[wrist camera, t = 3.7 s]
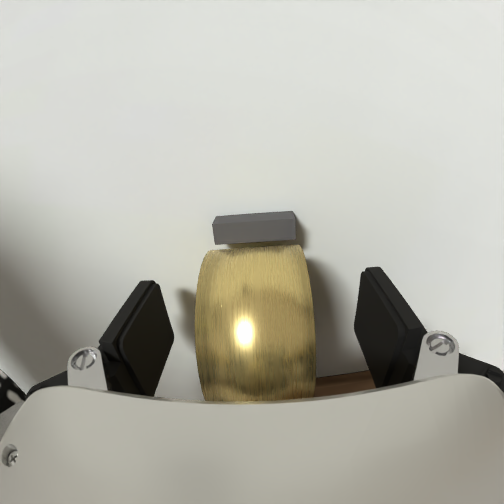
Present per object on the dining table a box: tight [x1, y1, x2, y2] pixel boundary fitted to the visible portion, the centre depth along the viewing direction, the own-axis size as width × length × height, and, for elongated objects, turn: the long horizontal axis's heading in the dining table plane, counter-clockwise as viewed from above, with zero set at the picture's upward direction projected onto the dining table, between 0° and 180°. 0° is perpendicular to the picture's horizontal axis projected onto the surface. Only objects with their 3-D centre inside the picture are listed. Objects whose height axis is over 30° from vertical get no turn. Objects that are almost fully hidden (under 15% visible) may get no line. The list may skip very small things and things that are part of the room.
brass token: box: [195, 245, 316, 401], centre depth 9 cm, size 3×6×6 cm, turn 5°
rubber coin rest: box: [212, 211, 296, 245], centre depth 12 cm, size 7×3×1 cm, turn 5°
